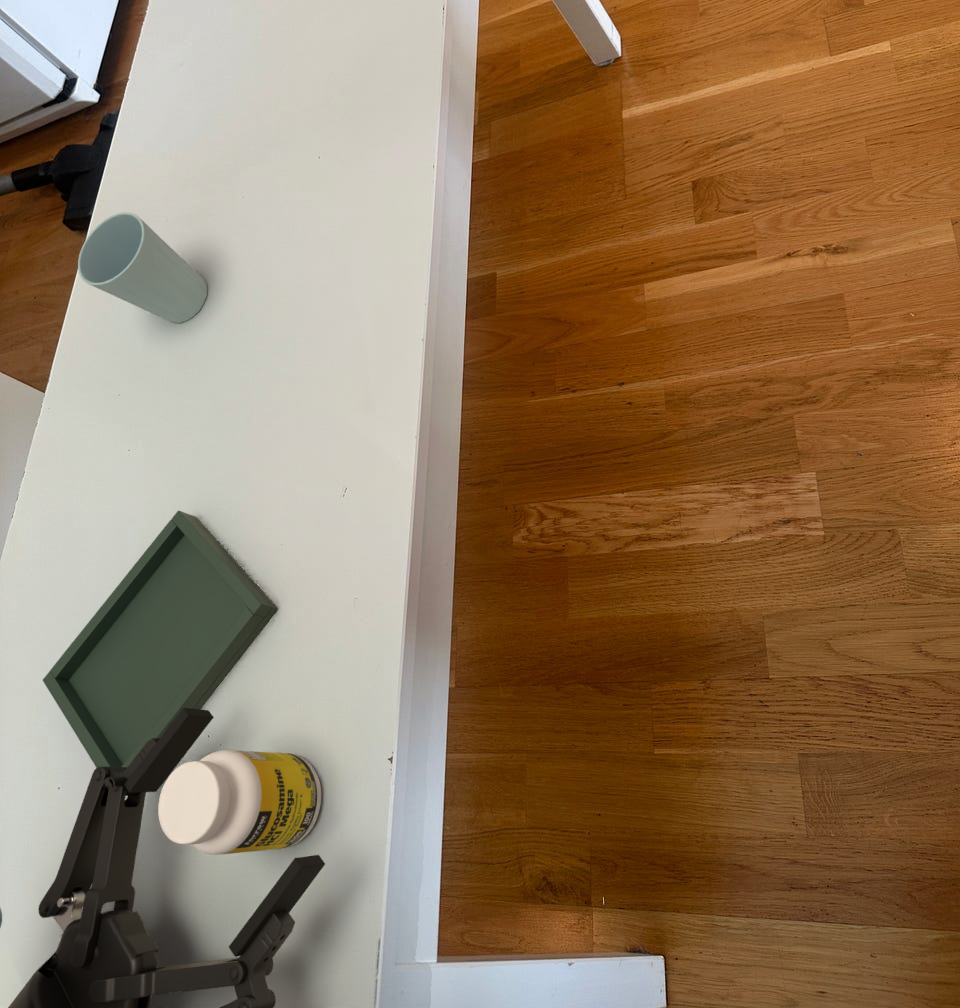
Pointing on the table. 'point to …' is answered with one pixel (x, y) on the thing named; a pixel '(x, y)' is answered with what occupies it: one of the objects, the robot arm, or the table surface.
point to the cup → (141, 269)
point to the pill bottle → (240, 802)
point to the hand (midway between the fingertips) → (251, 781)
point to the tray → (158, 643)
